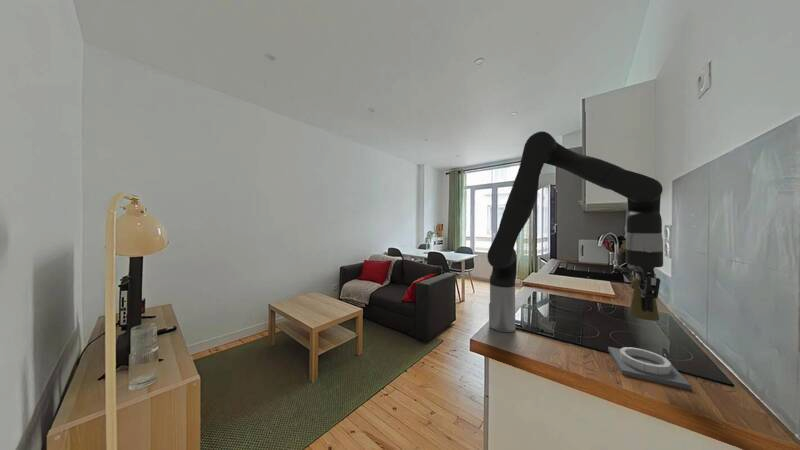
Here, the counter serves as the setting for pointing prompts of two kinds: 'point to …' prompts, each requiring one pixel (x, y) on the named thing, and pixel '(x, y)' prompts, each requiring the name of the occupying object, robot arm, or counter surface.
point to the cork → (637, 307)
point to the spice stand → (647, 366)
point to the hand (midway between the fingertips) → (643, 308)
